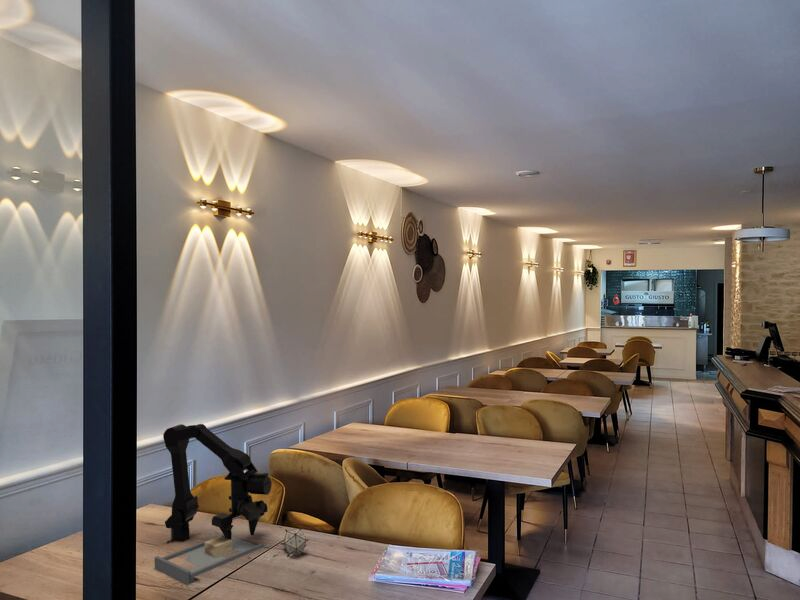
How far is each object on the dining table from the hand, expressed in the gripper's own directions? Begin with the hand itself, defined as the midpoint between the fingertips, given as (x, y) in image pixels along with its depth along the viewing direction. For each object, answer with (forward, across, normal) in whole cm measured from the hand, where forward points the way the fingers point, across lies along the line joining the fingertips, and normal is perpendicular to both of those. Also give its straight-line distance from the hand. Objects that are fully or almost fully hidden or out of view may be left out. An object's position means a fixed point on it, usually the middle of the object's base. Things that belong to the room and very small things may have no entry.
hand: (241, 539), depth 196 cm
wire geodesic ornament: (+3, +6, -19) cm, 20 cm away
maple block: (+1, -9, 0) cm, 9 cm away
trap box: (+2, -11, 0) cm, 12 cm away
